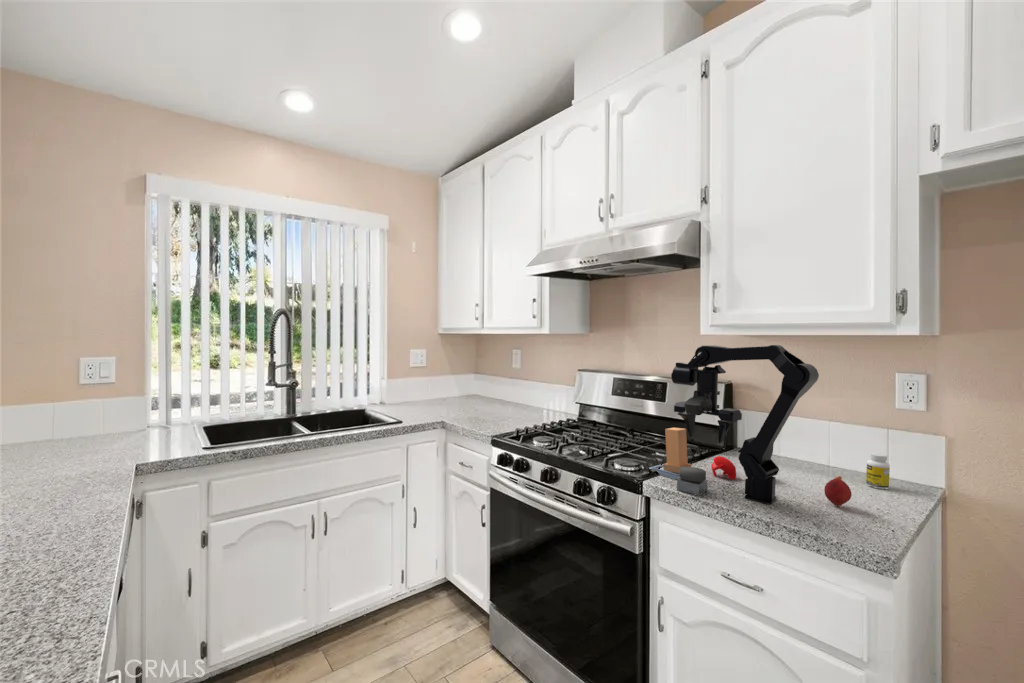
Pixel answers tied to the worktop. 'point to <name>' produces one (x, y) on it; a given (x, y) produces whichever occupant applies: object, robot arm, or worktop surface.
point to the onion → (837, 491)
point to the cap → (724, 467)
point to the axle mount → (691, 486)
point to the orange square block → (676, 450)
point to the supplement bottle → (878, 471)
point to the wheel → (692, 474)
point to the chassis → (665, 472)
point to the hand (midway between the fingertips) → (705, 439)
